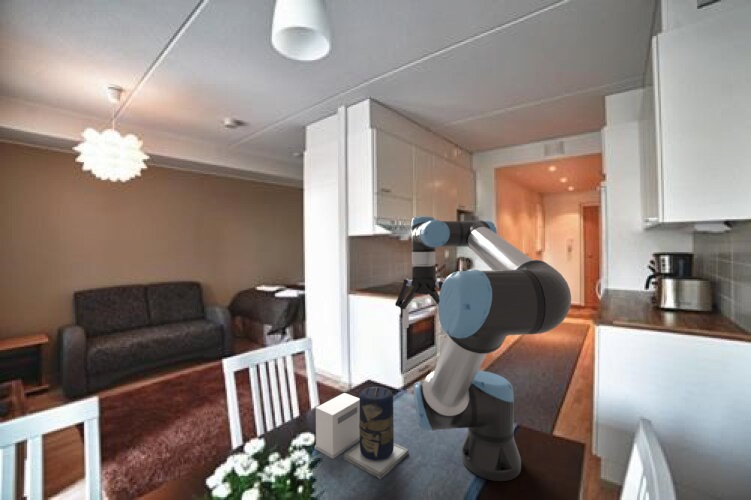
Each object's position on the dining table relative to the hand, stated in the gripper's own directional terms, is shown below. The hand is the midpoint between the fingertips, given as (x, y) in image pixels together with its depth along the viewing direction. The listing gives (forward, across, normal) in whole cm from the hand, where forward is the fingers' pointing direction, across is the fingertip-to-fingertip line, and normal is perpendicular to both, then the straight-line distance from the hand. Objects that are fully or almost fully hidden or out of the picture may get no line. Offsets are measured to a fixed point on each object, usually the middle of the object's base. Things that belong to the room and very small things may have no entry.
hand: (424, 331), depth 105 cm
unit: (+31, +17, +22) cm, 42 cm away
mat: (+31, +5, +21) cm, 38 cm away
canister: (+30, +5, +21) cm, 37 cm away
